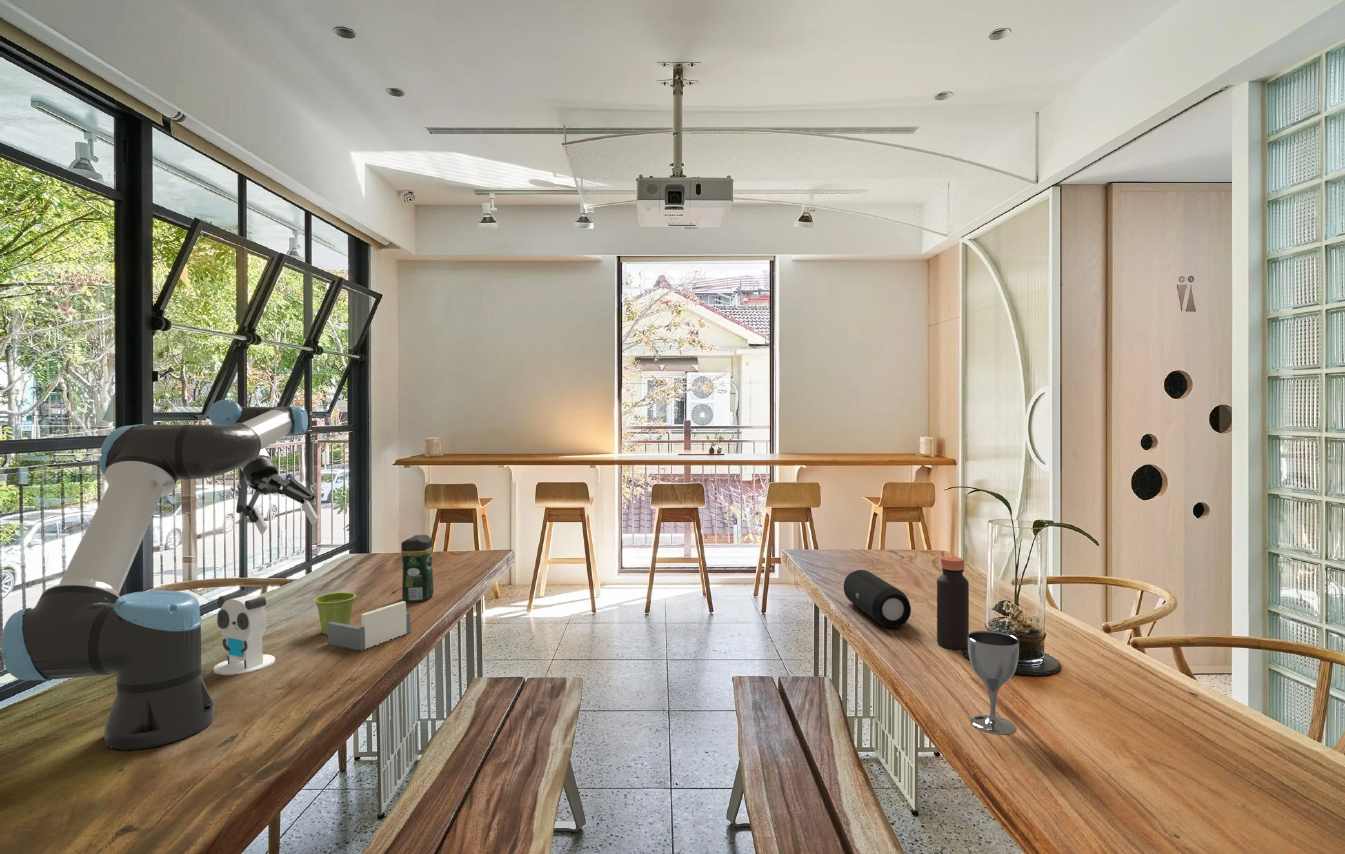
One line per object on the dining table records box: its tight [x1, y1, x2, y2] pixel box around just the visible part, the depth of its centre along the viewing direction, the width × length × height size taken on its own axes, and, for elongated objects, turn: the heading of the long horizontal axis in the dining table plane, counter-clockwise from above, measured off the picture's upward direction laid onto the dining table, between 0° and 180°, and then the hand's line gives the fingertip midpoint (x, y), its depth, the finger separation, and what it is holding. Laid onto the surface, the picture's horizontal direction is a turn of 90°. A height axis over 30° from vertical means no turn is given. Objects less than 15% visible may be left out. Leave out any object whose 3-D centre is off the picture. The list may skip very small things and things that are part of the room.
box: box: [327, 600, 411, 652], centre depth 164 cm, size 14×11×8 cm
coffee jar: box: [400, 534, 434, 603], centre depth 199 cm, size 10×8×19 cm
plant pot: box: [313, 591, 357, 636], centre depth 169 cm, size 9×9×9 cm
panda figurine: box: [213, 592, 276, 676], centre depth 147 cm, size 12×11×15 cm
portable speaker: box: [843, 569, 912, 628], centre depth 179 cm, size 26×10×10 cm, turn 5°
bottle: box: [936, 556, 970, 650], centre depth 155 cm, size 7×7×20 cm
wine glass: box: [967, 630, 1020, 735], centre depth 116 cm, size 8×8×15 cm
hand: (290, 525), depth 178 cm, fingers open, 13 cm apart
